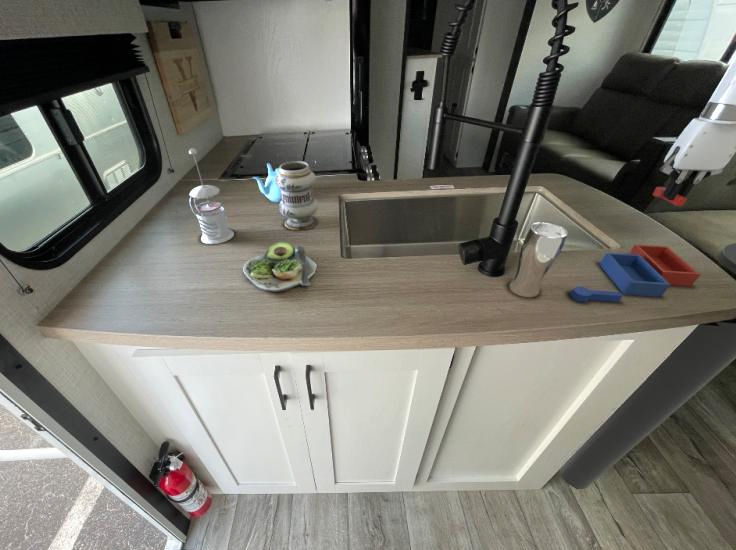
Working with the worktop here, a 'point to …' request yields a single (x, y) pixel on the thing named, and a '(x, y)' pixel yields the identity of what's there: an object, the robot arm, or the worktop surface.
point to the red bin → (667, 264)
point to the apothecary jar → (297, 194)
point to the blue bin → (634, 275)
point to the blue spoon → (594, 295)
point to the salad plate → (280, 268)
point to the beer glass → (537, 257)
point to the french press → (210, 213)
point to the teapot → (270, 185)
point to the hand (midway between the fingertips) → (672, 197)
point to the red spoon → (676, 201)
